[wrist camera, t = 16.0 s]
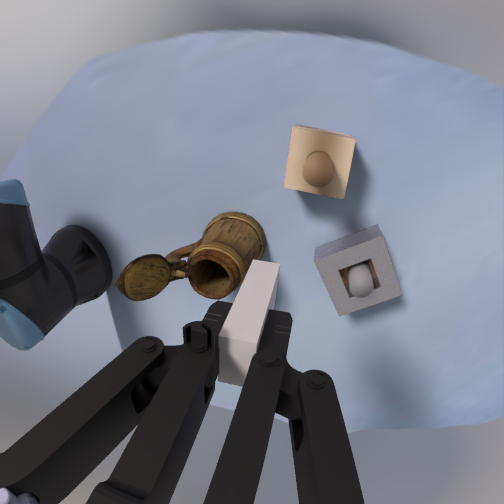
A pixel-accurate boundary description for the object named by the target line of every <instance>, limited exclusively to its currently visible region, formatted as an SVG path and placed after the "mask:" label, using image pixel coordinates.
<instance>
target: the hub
mask: <svg viewBox="0 0 504 504" xmlns="http://www.w3.org/2000/svg"><path fill="white" fill-rule="evenodd" d="M343 271H344V273H345V275H346V278H347V280H348V282H349V288H350V292H351V294H352V295H354V296H355V297H358V298H363V297H367V296H368V295H370V294H371V293H372V291H373V288H374V285H373V280H372V275H371V274H374V273H376V271H375V268H374V266H373V263H372V260H371V258H370V259H367V260H365V261H362V262H359V263H357V264H354V265H351V266H348V267H346V268H343Z"/></svg>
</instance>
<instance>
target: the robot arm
mask: <svg viewBox="0 0 504 504" xmlns="http://www.w3.org/2000/svg"><path fill="white" fill-rule="evenodd" d="M29 206H30V204H29V203H28V202H27V198H26V194H25V191H24V187H23V185H22V183H21V182H20V181H19V180H16V179H11V180H6V181H2V182H0V337H1V338H2V339H4V340H5V341H6V342H7V343H8V344H10V345H11V346H13V347H15V348H17V349H19V350H29V349H31V348H32V347H33V346H35V345H36V344H37V343H39V342H40V341H41V340H43V339H44V337H45V336H46V335H47V334H48V333H49V332H50V331H51V330H52V329H53V328H54V327H55V326H56V325H57V324H58V323H59V322H60V321H61V320H62V319H63V318H64V317H65V316H66V315H67V314H68V313H69V312H70V311H71V310H72V309H73V308H74V307H75V306H78V305H81V304H83V303H86V302H89V301H91V300H94V299H96V298H98V297H100V296H101V295H102V294H103V293H104V292H105V291H106V290H107V289H108V288H109V286H110V283H111V279H112V270H111V265H110V261H109V258H108V256H107V253H106V251H105V250H104V248H103V246H102V245H101V243H100V242H99V241H98V239H97V238H96V237H95V236H94V235H93V234H92V233H90V232H89V231H88V230H86V229H84V228H82V227H80V226H76V225H68V226H65V227H64V228H62V229H60V230H59V231H57V232H56V233H55V234H54V235H53V236H52V238H51V239H50V241H49V242H48V244H47V245H46V246H45V247H44V249H43V250H42V252H41V249H40V246H39V243H38V239H37V235H36V232H35V228H34V224H33V221H32V217H31V213H30V208H29ZM279 269H280V264H278V263H272V262H266V261H260V260H254V259H253V261H252V263H251V265H250V268H249V270H248V272H247V274H246V276H245V279H244V281H243V283H242V285H241V287H240V290H239V292H238V294H237V296H236V298H235V301H234V303H229V302H224V301H216V302H215V303H213V304H212V305H211V306H210V307H209V309H208V311H207V313H206V315H205V316H204V319H203V320H202V321H195V322H190V323H188V324H186V325H185V326H184V327H183V338H184V344H182V345H177V346H164V344H163V342H162V340H160V339H159V338H157V337H154V336H145V337H141V338H139V339H138V340H136V341H135V342H134V343H133V344H131V345H130V346H129V347H128V348H127V349H125V350H124V351H123V352H122V353H121V354H120V355H118V356H117V357H116V358H115V359H114V360H113V361H111V362H110V363H109V364H108V365H106V366H105V367H104V368H103V369H102V370H100V371H99V372H98V373H97V374H96V375H95V376H93V377H92V378H91V379H90V380H89V381H88V382H86V383H85V384H84V385H83V386H82V387H81V388H79V389H78V390H77V391H76V392H74V393H73V394H72V395H71V396H70V397H69V398H67V399H66V400H65V401H64V402H63V403H61V404H60V405H59V406H58V407H57V408H56V409H55V410H53V411H52V412H51V413H50V414H48V415H47V416H46V417H45V418H44V419H43V420H41V421H40V422H39V423H38V424H37V425H36V426H34V427H33V428H32V429H31V430H30V431H29V432H27V433H26V434H25V435H24V436H23V437H21V438H20V439H19V440H18V441H17V442H16V443H14V444H13V445H12V446H11V447H10V448H9V449H7V450H6V451H5V452H3V453H0V504H58V503H60V502H61V501H62V500H63V499H64V498H66V497H67V496H68V495H69V494H70V493H71V492H72V491H73V490H74V489H75V488H76V487H77V486H78V485H79V484H80V483H81V482H82V481H83V480H84V479H85V478H86V477H87V476H88V475H89V474H90V473H91V472H92V471H93V470H94V469H95V468H96V467H97V466H98V465H99V464H100V463H101V462H102V461H103V460H104V459H105V458H106V457H107V456H108V455H109V454H110V453H111V452H112V451H113V450H114V448H115V447H117V445H118V444H119V443H120V442H121V441H122V440H123V439H124V438H125V437H126V436H127V435H128V434H129V433H130V432H131V431H132V430H133V429H134V428H135V427H136V426H137V425H138V426H137V428H136V430H135V432H134V433H133V435H132V437H131V439H130V441H129V443H128V444H127V446H126V448H125V450H124V452H123V453H122V455H121V457H120V459H119V461H118V463H117V464H116V467H115V468H114V470H113V472H112V474H111V476H110V477H109V479H108V480H107V481H104V482H100V483H99V484H98V485H97V486H96V487H95V489H94V490H93V492H92V493H91V495H90V497H89V499H88V501H87V502H86V504H169V502H170V500H171V497H172V495H173V493H174V490H175V488H176V485H177V483H178V481H179V478H180V476H181V473H182V471H183V468H184V466H185V463H186V461H187V458H188V456H189V453H190V451H191V448H192V446H193V443H194V441H195V438H196V436H197V434H198V431H199V428H200V426H201V423H202V421H203V418H204V416H205V413H206V411H207V408H208V406H209V403H210V401H211V398H212V396H213V393H214V391H215V381H216V378H217V376H218V381H220V382H224V383H229V384H233V385H238V386H243V388H242V391H241V394H240V397H239V400H238V403H237V406H236V409H235V412H234V415H233V419H232V421H231V425H230V428H229V431H228V434H227V437H226V440H225V443H224V445H223V448H222V451H221V454H220V457H219V460H218V463H217V466H216V469H215V472H214V475H213V478H212V481H211V483H210V486H209V489H208V492H207V495H206V498H205V500H204V503H203V504H253V503H254V500H255V495H256V492H257V488H258V483H259V480H260V475H261V472H262V467H263V463H264V459H265V455H266V450H267V446H268V442H269V437H270V433H271V428H272V424H273V419H274V415H275V413H277V414H280V415H282V416H284V417H286V418H288V419H289V427H290V434H291V443H292V450H293V458H294V465H295V474H296V482H297V490H298V498H299V504H364V500H363V495H362V491H361V487H360V482H359V479H358V474H357V470H356V466H355V462H354V458H353V454H352V450H351V446H350V442H349V438H348V434H347V431H346V427H345V423H344V419H343V416H342V412H341V408H340V404H339V401H338V397H337V393H336V390H335V386H334V383H333V380H332V378H331V377H330V376H329V375H328V374H327V373H325V372H323V371H320V370H309V371H306V372H304V373H302V372H299V371H297V370H295V369H293V368H292V367H291V366H290V365H289V363H288V362H287V359H286V354H287V349H288V344H289V338H290V332H291V327H292V321H293V320H292V317H291V315H290V313H288V312H282V311H277V310H273V309H274V305H275V299H276V291H277V284H278V277H279Z"/></svg>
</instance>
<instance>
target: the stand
mask: <svg viewBox="0 0 504 504" xmlns="http://www.w3.org/2000/svg"><path fill="white" fill-rule="evenodd" d="M355 141H356V140H355V139H354V138H353V137H352V136H351V135H346V134H342V133H337V132H332V131H327V130H322V129H317V128H311V127H306V126H300V125H296V126H294V127H293V128H292V135H291V142H290V148H289V155H288V162H287V168H286V175H285V181H284V188H289V189H294V190H299V191H304V192H309V193H314V194H319V195H324V196H329V197H333V198H338V199H343V200H344V196H345V191H346V187H347V182H348V177H349V172H350V167H351V162H352V157H353V152H354V146H355Z"/></svg>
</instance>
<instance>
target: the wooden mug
mask: <svg viewBox="0 0 504 504" xmlns="http://www.w3.org/2000/svg"><path fill="white" fill-rule="evenodd" d="M265 246H266V239H265V234H264V232H263V229H262V228H261V226H260V225H259V223H258V222H257V221H256V220H255V219H254V218H253V217H251V216H249V215H247V214H244V213H239V212H227V213H222V214H220V215H218V216H216V217H214V218H213V220H212V221H211V222H210V223H209V224H208V226H207V227H206V229H205V231H204V233H203V237H202V238H201V239H200V240H199V241H197V242H196V243H193V244H191V245H188V246H185V247H182V248H180V249H177V250H174V251H172V252H171V253H169V254H168V255H167V256H166V257H165V258H164V257H163V256H161V255H160V254H148V255H144V256H141V257H138V258H136V259H135V260H133V261H132V262H130V263H129V264H128V265H127V266H126V267H125V268H124V269H123V271H122V272H121V274H120V275H119V277H118V279H117V280H116V282H115V286H116V287H117V288H118V289H119V291H120V292H121V293H122V294H123V295H124V296H126V297H127V298H129V299H131V300H133V301H143V300H147V299H150V298H152V297H155V296H156V295H157V294H159V293H160V292H161V291H162V290H163V289H164V288H165V287H166V286H167V285H168V284H169V282H171V281H174V280H178V279H184V278H187V277H188V279H189V281H190V284H191V286H192V287H193V289H194V290H195V291H196V292H197V293H198V294H200V295H202V296H204V297H206V298H210V299H222V298H224V297H226V296H227V295H229V294H230V293H231V292H233V291H234V290H235V289H237V288H238V287H239V286H240V285H241V284H242V282H243V280H244V278H245V274H246V273H247V271H248V270H249V268H250V265H251V263H252V261H253V259H254V260H259V259H260V258H261V257H262V255H263V253H264V251H265ZM185 257H189V258H188V260H187V262H186V261H184V260H180V259H181V258H185Z"/></svg>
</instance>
